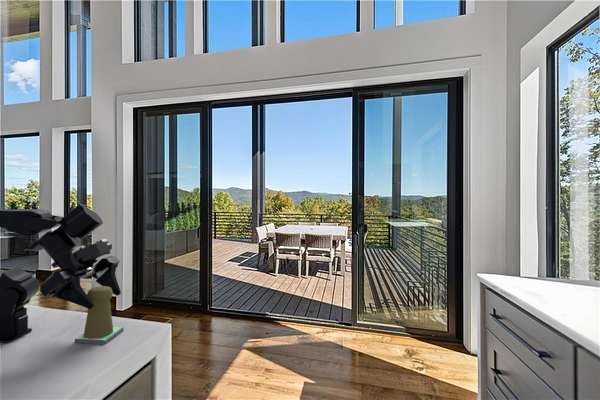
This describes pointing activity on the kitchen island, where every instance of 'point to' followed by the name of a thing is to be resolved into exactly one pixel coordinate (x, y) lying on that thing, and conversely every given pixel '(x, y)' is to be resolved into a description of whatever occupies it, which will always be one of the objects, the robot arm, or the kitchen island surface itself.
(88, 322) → the cork
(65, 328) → the kitchen island surface
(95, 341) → the plate
